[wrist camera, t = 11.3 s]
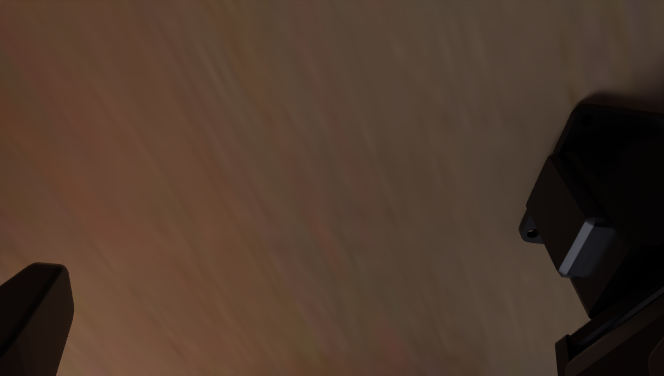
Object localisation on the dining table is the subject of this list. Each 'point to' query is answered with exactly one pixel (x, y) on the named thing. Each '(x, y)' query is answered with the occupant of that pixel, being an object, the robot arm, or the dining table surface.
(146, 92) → the dining table surface
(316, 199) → the dining table surface
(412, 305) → the dining table surface
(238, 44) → the dining table surface
